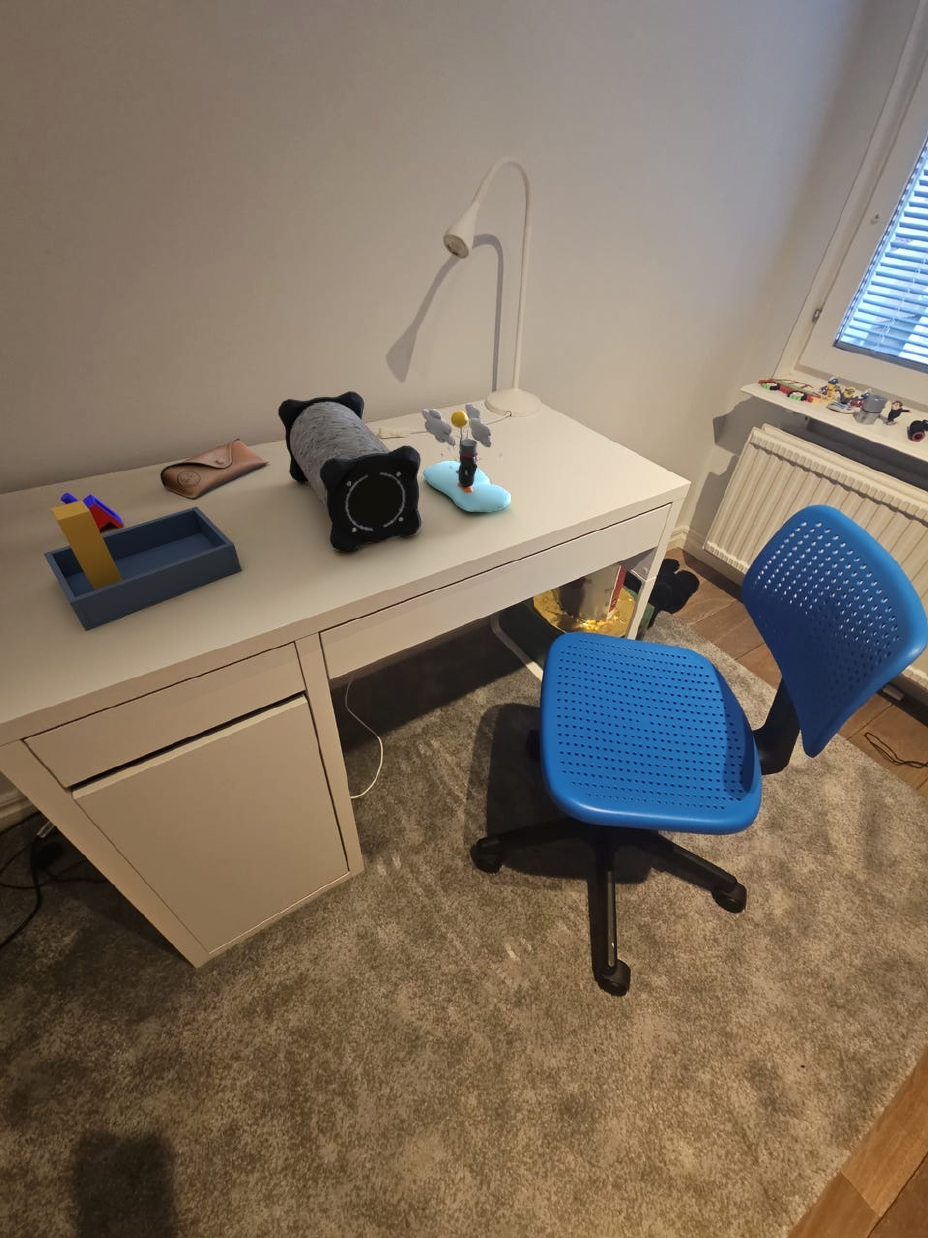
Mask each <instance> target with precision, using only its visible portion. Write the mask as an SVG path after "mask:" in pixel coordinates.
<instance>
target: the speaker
mask: <svg viewBox="0 0 928 1238" xmlns="http://www.w3.org/2000/svg"><path fill="white" fill-rule="evenodd" d="M364 408H365V402H364V398H363V397H362V396H361V395H360V394H359V393H358V392H356V391H351V390H349V391H347V392H344V393H342V394H339V395H337V396H332V397H331V396H317V397H314V398H311V399H309V400H300V399H293V398H288V399H286V400H283V401H282V402H281V404H280V405H279V406H278V410H277V414H278V417H279V419H280V420H281V423H282V424H283V426H284V429H285V437H284V438H285V445H286V449H287V451H288V453H289V457H290V462H289V470H288V471H289V475H290V477H291V478H292V479H293V480H294V481H296V483H303V484H304V483H308V482H309V485H311V487H312V489H313V490H314V491H315V493H316V495H317V496H318V498H319V500H320V502H321V503H322V504H323V505H324V508H325V509H326V511H327V512H328V513H327V514H328V518H330V522H331V527H330V533H329V534H330V535H329V538H328V539H329V543H330V544H331V545H330V546H331V547H332V548H333V549H335V550H337V551H339V552H342V553H343V552H351V551H353V550H355V549H356V548H358V547H360V546H362V545H365V544H376V543H379V542H380V543H381V542H383V541H386V540H388V539H390V538H394V537H400V538H401V537H402V538H409V537H411V536H413V535H415V534H417V532H418V531H419V530H420V528H421V527H422V523H423V520H422V517H421V514H420V511H419V500H420V485H419V482H418V474H419V470H420V467H421V462H422V460H421V454H420V453H419V451H418V450H417V449H415V448H414V447H413V446H411V445H406V444H405V445H401V446H400V447H397V448H396V449H393V450H390V449H389V448H388V447H387V446H386V444H385V443H384V441H382V440H381V439H380V438H379V437H378V436H377V435H376V434H375V433H374V432H373V431H372V430H371V429H370V427H369V426H368V425H366V423H365V422H364V420H363V414H364Z"/></svg>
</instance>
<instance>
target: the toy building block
mask: <svg viewBox="0 0 928 1238" xmlns="http://www.w3.org/2000/svg"><path fill="white" fill-rule="evenodd" d="M59 499H60V501H61V502H62V503H64V505H66V504H69V503H73V502H77V501H80V500H79V499H77V497H75V496H73V494H71V493H70V492H65V493H64V494H62V496H61V497H60V498H59ZM81 500H82V501H83V502H84V504H85V505H86V507H87V508H88V509H89V511H90V513H91V515H92V517H93V519H94V521H95V523H96V525H97V527H98V529H99V531H100V530H102V529H103V528H104V527H105V526H107V525H108V524H109V523H112V524H113V525H114V526H116V527H117V528H118V529H121V528H122V527H123V526H124V522H123V521H122V518H121V516H120V515H119V514H118V513H116V512H115V511H114V510H113V509H112V508H110V507H109V506H108V505H106V504H104V503H103V502H102V501H101V500H100V499H98V498H97V497H95V496H94V495H93V494H92V493H90V494H88V495H87V496H86V497H84V498H83V499H81Z"/></svg>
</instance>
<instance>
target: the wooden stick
mask: <svg viewBox="0 0 928 1238" xmlns="http://www.w3.org/2000/svg"><path fill="white" fill-rule="evenodd" d="M82 500H83V499H81V500H79V501H77V502H73V503H69V504H62V505H59V506H55V507H51V508H50V511H51V513H52V515H53V517H54V519H55V520H56V522H57V524H58V526H59V528H60V530H61V532H62V533H63V535H64V537H65V539H66V541H67V543H68V546H69V545H70V547H71V549H72V550H73V552H74V554H75V556H76V558H77V560H78V562H79V564H80V565H81V567H82V569H83V571H84V573H85V575H86V577H87V579H88V580H89V582H90V584H91V586H92V588H93V589H94V590H97V589H100V588H103V587H106V586H109V585H111V584H114V583H117V582H120V581H123V579H122V577H121V575H120V573H119V571H118V569H117V567H116V565H115V563H114V561H113V559H112V557H111V554H110V552H109V550H108V548H107V546H106V544H105V542H104V540H103V538H102V534H101V532H100V530H99V529H98V527H97V525H96V523H95V521H94V519H93V517H92V515H91V513H90V511H89V509H88V508H87V507H86V505H85V504H84V502H83V501H82Z"/></svg>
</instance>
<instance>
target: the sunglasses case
mask: <svg viewBox="0 0 928 1238" xmlns="http://www.w3.org/2000/svg"><path fill="white" fill-rule="evenodd" d="M268 463H269V461H268V460H264V459H263V458H262V457H260V456H259V455H258V454H257V453H256V452H254V451H253V450H252V449H251V448H250V447H248V446H247V445H246V444H245V443H244V442H242V441H241V438H237V437H236V438H235V439H233V440H231V441H229V442H228V443H225V444H222V445H220V446H218V447H214V448H211V449H209V450H207V451H204V452H202V453H199V454H197V455H194V456H192V457H190V458H187V459H185V460H183V461H181V462H180V461H179V462H176V463H173V464H170V465H167V466H165V467H164V468H163V469H162V470H161V472H160V474H159V475H160V480H161V481H160V482H161V483H162V485H163V486H164V488H165V489H166V490H167V491H169V492H172V493H173V494H176V495H179V496H181V497H185V498H187V499H197V498H199V497H200V496H201V495H203V494H206V493H207V492H209V491H211V490H213V489H216V488H218V487H221V486H222V485H224V484H228V483H229V482H231V481H234V480H236V479H238V478H240V477H243V476H245V475H247V474H249V473H251V472H253V471H255V470H258V469H260V468H261V467H263V466H265V465H267V464H268Z"/></svg>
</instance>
